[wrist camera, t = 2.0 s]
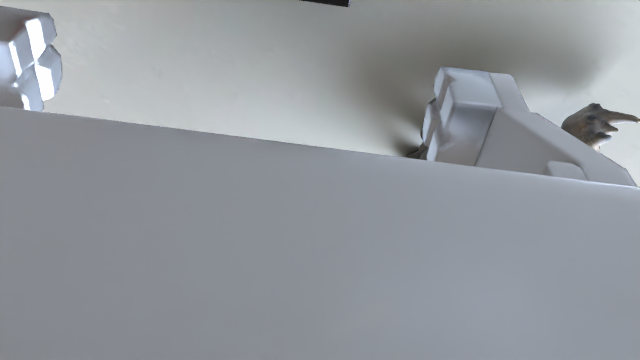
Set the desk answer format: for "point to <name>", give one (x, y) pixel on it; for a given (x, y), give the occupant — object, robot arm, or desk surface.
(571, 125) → the rhino figurine
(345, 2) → the hob panel
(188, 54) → the desk surface
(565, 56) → the desk surface
